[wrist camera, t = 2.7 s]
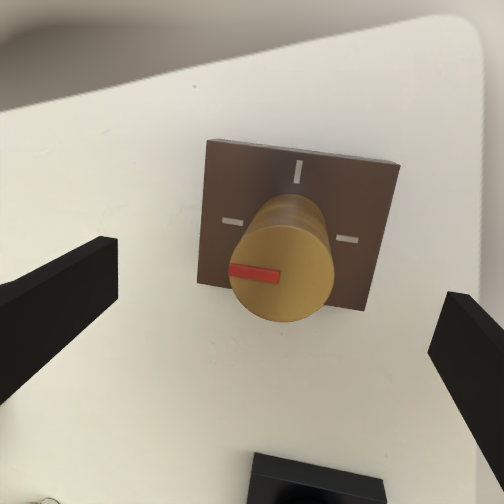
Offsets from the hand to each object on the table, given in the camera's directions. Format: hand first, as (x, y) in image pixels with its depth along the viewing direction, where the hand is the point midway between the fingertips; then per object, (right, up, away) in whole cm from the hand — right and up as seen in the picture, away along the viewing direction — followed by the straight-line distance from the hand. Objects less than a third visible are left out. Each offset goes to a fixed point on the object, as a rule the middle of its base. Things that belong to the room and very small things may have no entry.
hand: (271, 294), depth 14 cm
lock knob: (+2, +3, +9) cm, 10 cm away
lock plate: (+2, +4, +12) cm, 13 cm away
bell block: (+5, -23, +21) cm, 32 cm away
